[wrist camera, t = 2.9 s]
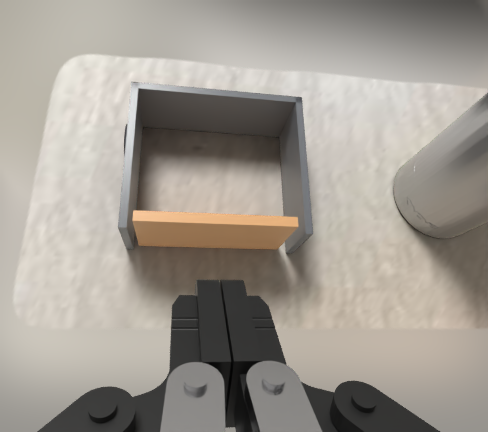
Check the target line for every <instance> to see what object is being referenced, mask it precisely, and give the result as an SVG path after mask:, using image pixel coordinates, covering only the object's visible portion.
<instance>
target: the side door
mask: <svg viewBox="0 0 488 432" xmlns="http://www.w3.org/2000/svg"><path fill="white" fill-rule="evenodd" d="M132 221H133V225H134V228H135V232H136V236H137V240H138V244H139V246H166V247H203V248H241V249H278V248H279V247H280V246H281V245H282V244H283V243H284V242H285V241H286V240H287V239H288V237H289V236H290V235H291V234H292V233H293V232H294V231H295V230H296V229H297V228H298V217H285V216H260V215H236V214H211V213H187V212H162V211H138V210H133V220H132Z"/></svg>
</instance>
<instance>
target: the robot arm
mask: <svg viewBox="0 0 488 432" xmlns="http://www.w3.org/2000/svg"><path fill="white" fill-rule="evenodd" d="M393 189H394V197H395V200H396V203H397V206H398V208H399V210H400V212H401V214H402V215H403V216H404V218H405V219H406V220H407V221H408V222H409V223H410V224H411V225H412V226H413V227H414V228H415V229H417V230H419V231H420V232H422V233H424V234H426V235H429V236H431V237H435V238H441V239H443V238H452V237H456V236H458V235H461V234H463V233H465V232H467V231H470V230H472V229H474V228H476V227H478V226H481V225H483V224H486V223H488V93H487V94H486V95H484V96H483V97H482V98H481V99H480V100H479V101H478V102H476V103H475V104H474V105H473V106H472V107H471V108H469V109H468V110H467V111H466V112H465V113H464V114H462V115H461V116H460V117H459V118H458V119H457V120H455V121H454V122H453V123H452V124H451V125H450V126H448V127H447V128H446V129H445V130H444V131H443V132H441V133H440V134H439V135H438V136H437V137H436V138H434V139H433V140H432V141H431V142H430V143H429V144H427V145H426V146H425V147H424V148H422V149H421V150H420V151H419V152H418V153H417V154H416V155H414V156H413V157H412V158H411V159H410V160H409V161H408V162H406V163H405V164H404V165H403V166H402V167H401V168H400V169H399V171H398V172H397V174H396V177H395V180H394V188H393ZM226 427H235V428H236V432H440V431H438V430H436V429H435V428H434V427H432V426H431V425H429V424H428V423H426V422H425V421H424V420H422V419H421V418H419V417H417V416H416V415H414V414H413V413H412V412H410V411H409V410H407V409H406V408H404V407H403V406H401V405H400V404H398V403H397V402H395V401H394V400H392V399H391V398H389V397H388V396H386V395H385V394H383V393H382V392H380V391H379V390H377V389H376V388H374V387H373V386H371V385H369V384H366V383H363V382H359V381H347V382H344V383H341V384H340V385H339V386H338V387H337V388H336V390H335V392H330V391H326V390H322V389H317V388H314V387H311V386H308V385H306V384H304V383H302V382H301V381H300V379H299V377H298V375H297V374H296V373H295V371H294V370H293V369H291V368H290V367H289V366H287V365H286V362H285V358H284V355H283V352H282V348H281V345H280V342H279V339H278V336H277V332H276V329H275V326H274V323H273V320H272V316H271V313H270V310H269V307H268V305H267V304H266V303H265V302H264V301H263V300H262V299H261V298H260V297H259V296H247V293H246V289H245V285H244V281H243V280H220V282H219V280H196V287H195V295H179V297H178V298H177V300H176V301H175V302H174V304H173V305H172V323H171V346H170V371H169V374H168V376H167V378H166V379H165V380H164V382H163V383H162V384H161V385H160V386H158V387H157V388H155V389H154V390H152V391H150V392H147V393H144V394H141V395H138V396H135V397H132V396H131V395H130V394H129V393H128V392H126V391H125V390H123V389H120V388H117V387H101V388H97V389H94V390H91V391H89V392H87V393H85V394H84V395H83V396H81V397H80V398H79V399H78V400H76V401H75V402H74V403H72V404H71V405H70V406H69V407H67V408H66V409H65V410H64V411H63V412H61V413H60V414H59V415H58V416H56V417H55V418H54V419H53V420H51V421H50V422H49V423H48V424H46V425H45V426H44V427H43V428H42V429H40V430H39V431H38V432H225V428H226Z"/></svg>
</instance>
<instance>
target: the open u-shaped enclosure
mask: <svg viewBox="0 0 488 432" xmlns="http://www.w3.org/2000/svg"><path fill="white" fill-rule="evenodd" d="M143 127H149V128H163V129H176V130H190V131H203V132H217V133H230V134H244V135H257V136H270V137H279V142H280V160H281V177H282V195H283V212H284V216H285V217H298V228H297V229H296V230H295V231H294V232H293V233H292V234H291V235H290V236H289V237H288V239H287V240H286V241H285V247H286V253H293V252H294V251H295V250H296V249H297V248H298V247H299V246H300V245H301V244H303V243H304V242H305V241H306V240H307V239H308V238H309V237H310V236H311V235H312V234H313V227H312V215H311V203H310V191H309V179H308V167H307V155H306V142H305V130H304V118H303V106H302V97H293V96H282V95H271V94H260V93H249V92H238V91H227V90H216V89H205V88H195V87H184V86H173V85H162V84H151V83H140V82H131V93H130V103H129V114H128V124H126V128H125V137H124V168H123V179H122V190H121V201H120V212H119V222H118V228H119V231H120V234H121V236H122V239H123V242H124V244H125V247H126V249H133V248H134V235H135V228H134V225H133V221H132V220H133V210H136V209H137V196H138V183H139V170H140V157H141V144H142V131H143Z"/></svg>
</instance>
